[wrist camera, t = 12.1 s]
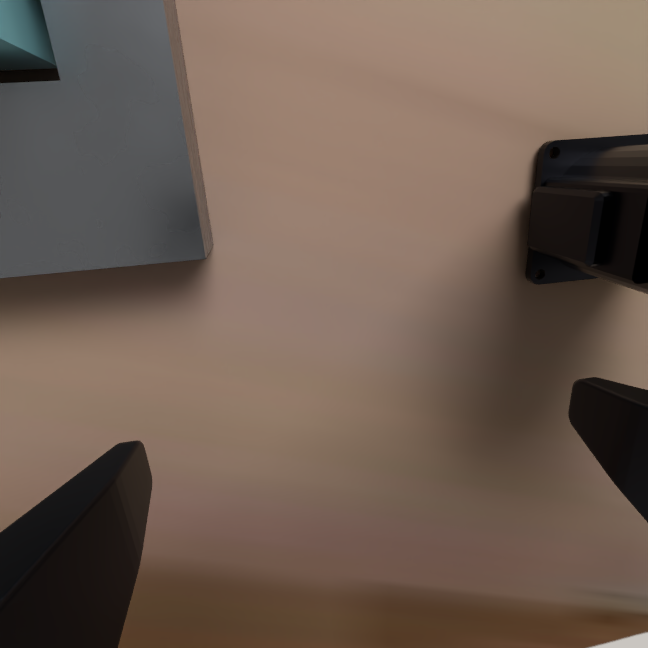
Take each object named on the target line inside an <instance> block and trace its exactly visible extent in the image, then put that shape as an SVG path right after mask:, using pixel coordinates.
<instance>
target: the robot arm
mask: <svg viewBox="0 0 648 648" xmlns="http://www.w3.org/2000/svg"><path fill="white" fill-rule="evenodd" d="M552 148H553V149H554V155H553V157H552V158H550V156H549V152H550V150H551V149H552ZM528 246H529V249H528V258H527V268H526V278H527V279H528V281H530V282H532V283H534V284H547V283H557V282H566V281H575V280H584V279H593V278H601V279H604V280H607V281H610V282H613V283H616V284H619V285H622V286H625V287H628V288H631V289H634V290H637V291H640V292H643V293H646V294H648V134H642V135H628V136H614V137H600V138H585V139H571V140H557V141H548V142H546V143H544V144H543V145H542V146H541V148H540V150H539V154H538V163H537V173H536V182H535V191H534V192H533V195H532V204H531V214H530V224H529V233H528ZM538 270H540V274H539V275H538V276H537V277H535V274H536V272H537V271H538ZM568 414H569V420H570V422H571V424H572V426H573V427H574V429H575V430H576V431H577V433H578V434H579V436H580V437H581V438H582V440H583V441H584V442H585V444H586V445H587V447H588V448H589V449H590V451H591V452H592V454H593V455H594V456H595V458H596V459H597V461H598V462H599V463H600V465H601V466H602V467H603V469H604V470H605V472H606V473H607V474H608V476H609V477H610V478H611V480H612V481H613V482H614V484H615V485H616V486H617V487H618V488H619V490H620V491H621V492H622V493H623V494H624V496H625V497H626V498H627V499H628V500H629V501H630V502H631V504H632V505H633V506H634V507H635V508H636V509H637V511H638V512H639V513H640V514H641V515H642V516H643V517H644V519H645V520H646V521H647V522H648V390H645V389H641V388H637V387H633V386H629V385H625V384H621V383H617V382H613V381H609V380H605V379H601V378H596V377H592V378H585V379H579V380H577V381H575V382H574V384H573V387H572V393H571V399H570V405H569V412H568ZM151 491H152V475H151V471H150V467H149V463H148V459H147V455H146V452H145V448H144V445H143V443H142V442H141V441H130V442H123V443H119V444H117V445H115V446H114V447H113V448H111V449H110V450H109V451H107V452H106V453H105V454H104V455H102V456H101V457H100V458H98V459H97V460H96V461H94V462H93V463H92V464H90V465H89V466H88V467H86V468H85V469H84V470H82V471H81V472H80V473H78V474H77V475H76V476H74V477H73V478H72V479H70V480H69V481H68V482H66V483H65V484H64V485H63V486H61V487H60V488H59V489H57V490H56V491H55V492H53V493H52V494H51V495H49V496H48V497H47V498H45V499H44V500H43V501H41V502H40V503H39V504H37V505H36V506H35V507H33V508H32V509H31V510H29V511H28V512H27V513H25V514H24V515H23V516H21V517H20V518H19V519H18V520H16V521H15V522H14V523H12V524H11V525H10V526H8V527H7V528H6V529H4V530H3V531H2V532H0V648H118V645H119V641H120V637H121V633H122V630H123V626H124V622H125V619H126V615H127V611H128V608H129V604H130V600H131V597H132V593H133V589H134V586H135V582H136V578H137V574H138V570H139V566H140V561H141V556H142V550H143V543H144V537H145V530H146V524H147V517H148V511H149V504H150V497H151Z"/></svg>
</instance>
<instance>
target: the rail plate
mask: <svg viewBox="0 0 648 648" xmlns="http://www.w3.org/2000/svg"><path fill="white" fill-rule="evenodd" d="M40 1H41V5H42V9H43V13H44V17H45V21H46V25H47V29H48V33H49V37H50V41H51V45H52V49H53V53H54V57H55V61H56V65H57V69H58V73H59V77H60V81H39V82H17V83H0V278H7V277H18V276H29V275H39V274H50V273H61V272H71V271H82V270H93V269H103V268H114V267H125V266H135V265H146V264H156V263H167V262H178V261H188V260H199V259H206V258H207V256H208V254H209V252H210V250H211V248H212V246H213V239H212V233H211V226H210V220H209V214H208V207H207V201H206V195H205V188H204V182H203V176H202V169H201V163H200V157H199V150H198V144H197V138H196V131H195V125H194V119H193V112H192V106H191V100H190V93H189V87H188V81H187V74H186V68H185V62H184V55H183V49H182V43H181V36H180V30H179V24H178V17H177V11H176V5H175V0H40Z"/></svg>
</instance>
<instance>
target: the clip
mask: <svg viewBox="0 0 648 648" xmlns="http://www.w3.org/2000/svg"><path fill="white" fill-rule="evenodd" d="M50 68H57V65H56V61H55V57H54V53H53V49H52V45H51V41H50V37H49V33H48V29H47V25H46V21H45V17H44V13H43V9H42V5H41V1H40V0H0V70H25V69H50Z"/></svg>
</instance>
